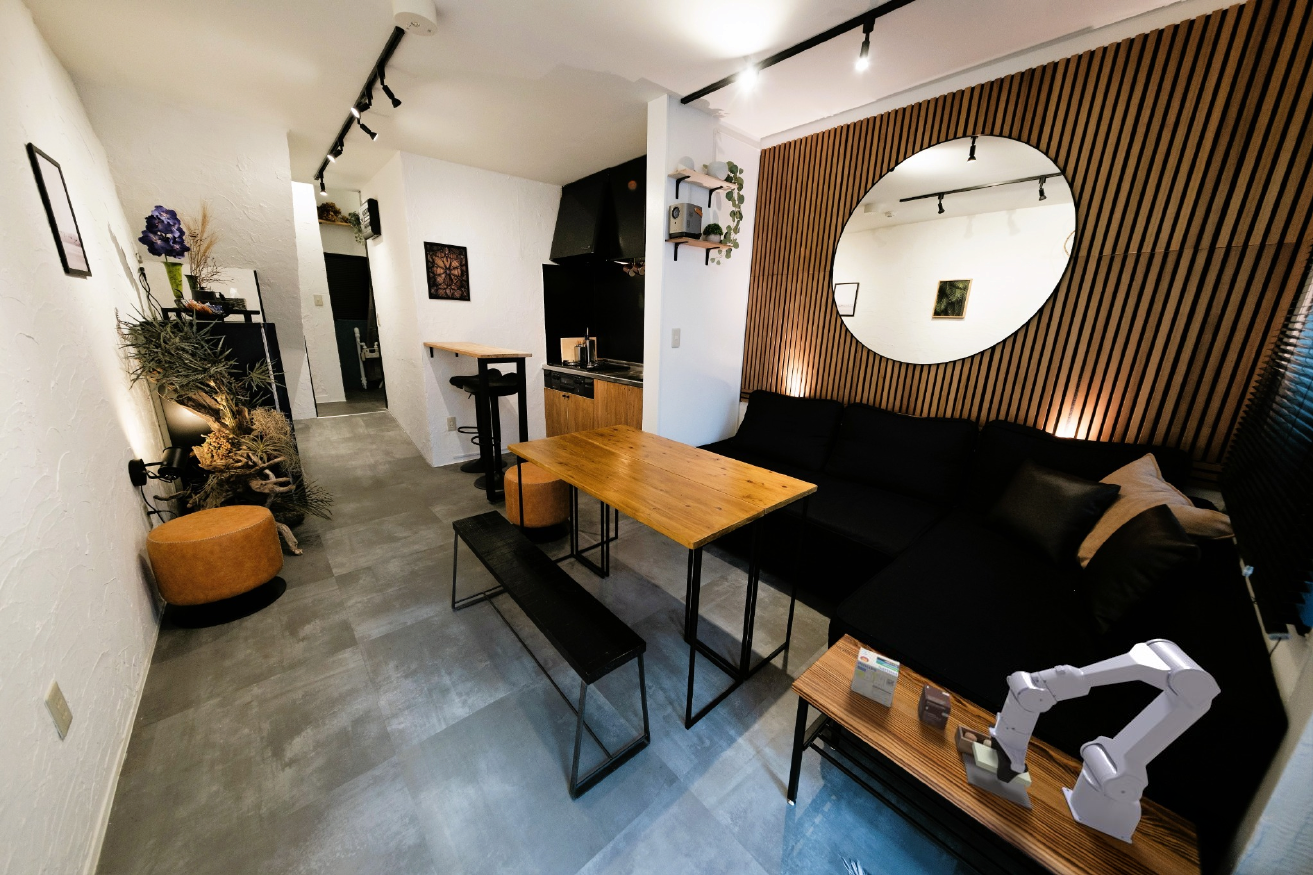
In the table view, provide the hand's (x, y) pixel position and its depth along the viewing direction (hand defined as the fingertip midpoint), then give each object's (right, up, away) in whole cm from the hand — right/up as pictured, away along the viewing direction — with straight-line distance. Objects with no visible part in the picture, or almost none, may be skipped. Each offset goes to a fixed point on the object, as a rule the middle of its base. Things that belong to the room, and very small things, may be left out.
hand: (999, 768), depth 103 cm
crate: (+1, -2, +8) cm, 8 cm away
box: (-5, +1, +17) cm, 18 cm away
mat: (0, -4, +1) cm, 4 cm away
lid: (0, +1, 0) cm, 1 cm away
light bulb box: (-18, +4, +24) cm, 31 cm away
